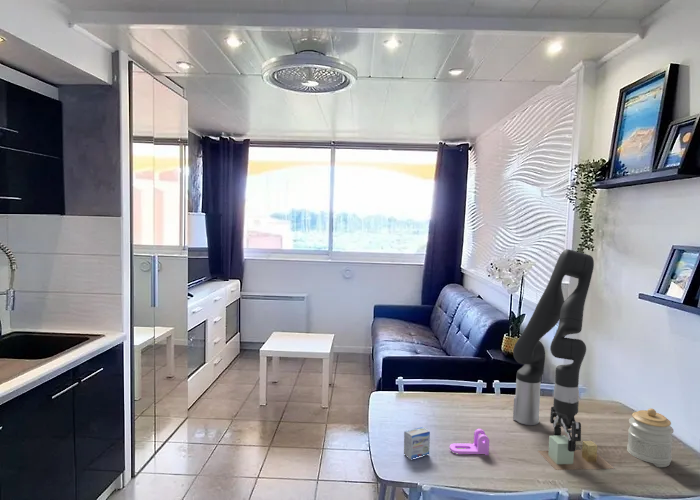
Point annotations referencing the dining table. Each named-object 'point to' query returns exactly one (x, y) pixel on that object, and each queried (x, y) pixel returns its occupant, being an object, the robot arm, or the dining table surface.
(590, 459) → the brass post
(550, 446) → the sage cap
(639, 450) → the jar
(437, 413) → the dining table surface
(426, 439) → the medicine box
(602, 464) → the walnut board
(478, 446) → the bracket
